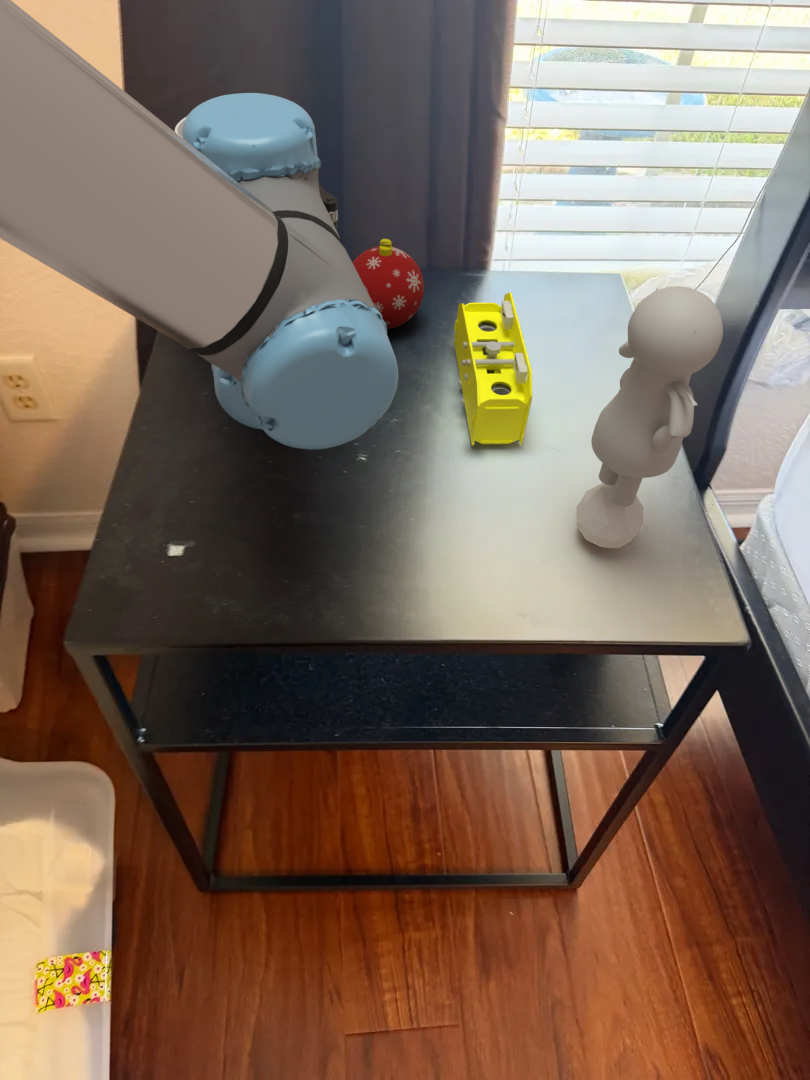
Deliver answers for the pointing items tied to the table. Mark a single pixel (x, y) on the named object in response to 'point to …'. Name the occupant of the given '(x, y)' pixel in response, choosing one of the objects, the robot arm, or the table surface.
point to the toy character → (648, 408)
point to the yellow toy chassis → (493, 371)
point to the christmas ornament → (391, 282)
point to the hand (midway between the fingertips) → (256, 127)
